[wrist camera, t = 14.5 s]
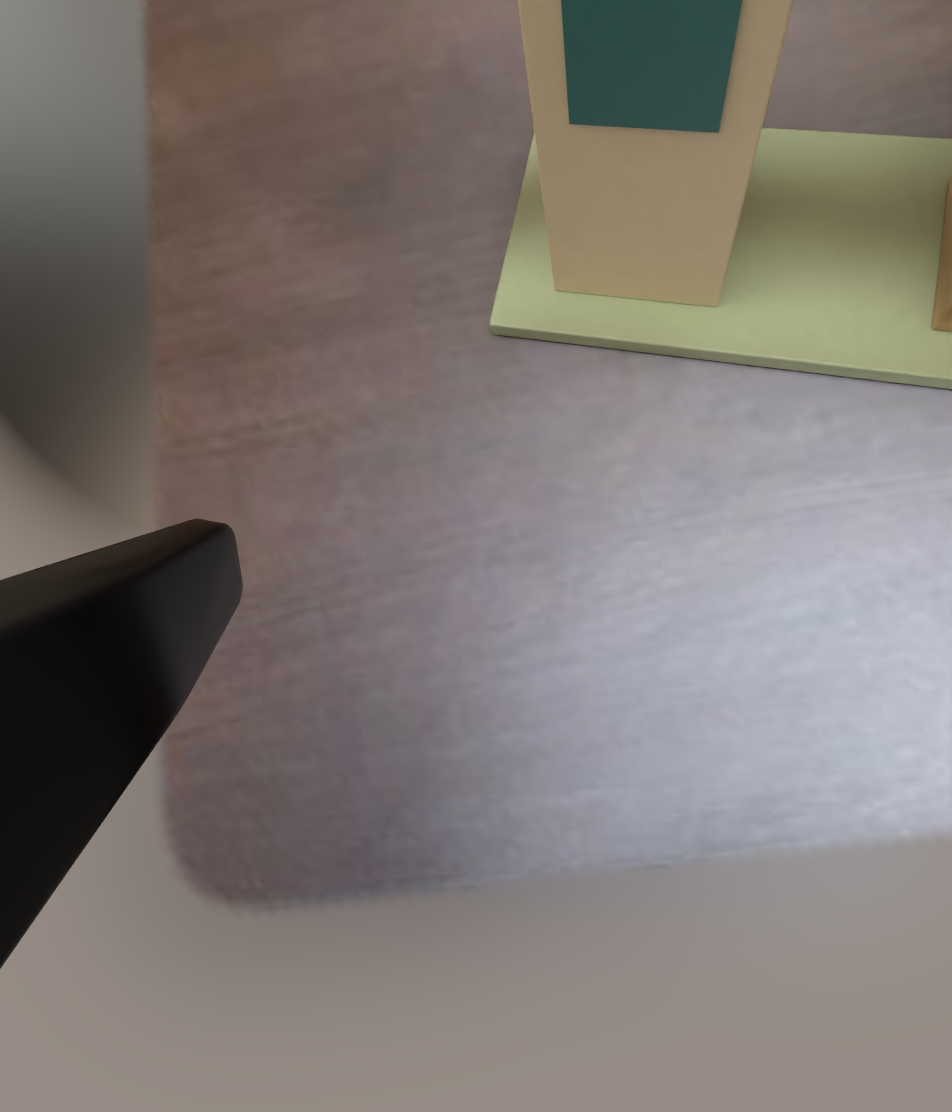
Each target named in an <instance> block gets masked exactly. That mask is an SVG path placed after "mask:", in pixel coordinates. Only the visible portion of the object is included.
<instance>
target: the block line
mask: <svg viewBox="0 0 952 1112" xmlns="http://www.w3.org/2000/svg"><path fill="white" fill-rule="evenodd" d="M489 325H490V329H491V332H492V334H496V335H505V336H513V337H521V338H530V339H538V340H546V341H554V342H563V343H571V344H579V345H588V346H596V347H604V348H613V349H621V350H629V351H637V352H646V353H654V354H662V355H671V356H679V357H687V358H696V359H704V360H712V361H721V362H729V363H737V364H745V365H754V366H762V367H770V368H779V369H787V370H795V371H804V372H812V373H820V374H829V375H837V376H845V377H853V378H862V379H870V380H878V381H887V382H895V383H903V384H912V385H920V386H928V387H936V388H945V389H952V139H946V138H929V137H912V136H895V135H878V134H861V133H844V132H827V131H810V130H793V129H777V128H762V130H761V134H760V138H759V142H758V146H757V150H756V154H755V158H754V162H753V166H752V170H751V174H750V178H749V182H748V187H747V191H746V195H745V199H744V203H743V207H742V211H741V215H740V219H739V223H738V227H737V231H736V235H735V239H734V243H733V247H732V251H731V255H730V259H729V263H728V267H727V271H726V275H725V279H724V283H723V287H722V291H721V295H720V299H719V303H718V306H717V307H709V306H700V305H690V304H681V303H671V302H661V301H652V300H642V299H633V298H623V297H614V296H604V295H595V294H585V293H575V292H566V291H556V290H554V284H553V276H552V268H551V260H550V252H549V244H548V236H547V228H546V220H545V212H544V204H543V196H542V188H541V180H540V172H539V164H538V156H537V148H536V140H535V132H534V135H533V140H532V144H531V148H530V152H529V157H528V161H527V165H526V169H525V174H524V178H523V182H522V186H521V191H520V195H519V199H518V203H517V208H516V212H515V216H514V220H513V225H512V229H511V233H510V237H509V242H508V246H507V250H506V254H505V259H504V263H503V267H502V271H501V276H500V280H499V284H498V288H497V293H496V297H495V301H494V305H493V310H492V314H491V318H490V322H489Z"/></svg>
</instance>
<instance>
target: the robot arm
mask: <svg viewBox="0 0 952 1112" xmlns="http://www.w3.org/2000/svg"><path fill="white" fill-rule="evenodd" d="M242 586H243V585H242V576H241V570H240V564H239V557H238V551H237V545H236V539H235V535H234V532H233V530H232V529H231V528H230V527H229V526H228V525H227V524H224V523H218V522H213V521H208V520H202V519H193V520H189V521H186V522H183V523H180V524H177V525H173V526H170V527H167V528H164V529H161V530H158V531H154V532H151V533H148V534H145V535H142V536H139V537H135V538H132V539H129V540H126V541H123V542H120V543H116V544H113V545H110V546H107V547H104V548H101V549H98V550H94V551H91V552H88V553H85V554H81V555H78V556H75V557H72V558H69V559H66V560H62V561H60V562H56V563H53V564H50V565H47V566H44V567H40V568H37V569H34V570H31V571H28V572H24V573H22V574H18V575H15V576H12V577H9V578H5V579H2V580H0V968H1V967H2V966H3V964H4V963H5V961H6V960H7V958H8V957H9V956H10V954H11V953H12V951H13V950H14V948H15V947H16V946H17V944H18V943H19V941H20V940H21V938H22V937H23V936H24V934H25V933H26V931H27V930H28V928H29V927H30V926H31V924H32V923H33V921H34V920H35V918H36V917H37V915H38V914H39V912H40V911H41V910H42V908H43V907H44V905H45V904H46V902H47V901H48V900H49V898H50V897H51V895H52V894H53V892H54V891H55V890H56V888H57V887H58V885H59V884H60V882H61V881H62V880H63V878H64V877H65V875H66V874H67V872H68V871H69V869H70V868H71V866H72V865H73V864H74V862H75V861H76V859H77V858H78V857H79V855H80V854H81V852H82V850H83V849H84V848H85V846H86V845H87V844H88V842H89V841H90V839H91V838H92V836H93V835H94V833H95V832H96V831H97V829H98V828H99V826H100V825H101V823H102V822H103V821H104V819H105V818H106V816H107V815H108V813H109V812H110V811H111V809H112V808H113V806H114V805H115V803H116V802H117V800H118V799H119V798H120V796H121V795H122V793H123V792H124V790H125V789H126V788H127V786H128V785H129V783H130V782H131V780H132V779H133V777H134V776H135V775H136V773H137V771H138V770H139V769H140V767H141V766H142V764H143V763H144V762H145V760H146V759H147V757H148V756H149V755H150V753H151V752H152V750H153V749H154V747H155V746H156V744H157V743H158V742H159V740H160V739H161V737H162V736H163V734H164V733H165V732H166V730H167V729H168V727H169V726H170V724H171V723H172V721H173V720H174V718H175V717H176V715H177V714H178V712H179V711H180V709H181V708H182V706H183V704H184V702H185V701H186V699H187V697H188V696H189V694H190V692H191V691H192V689H193V687H194V685H195V683H196V681H197V680H198V678H199V676H200V674H201V672H202V670H203V669H204V667H205V665H206V663H207V661H208V659H209V658H210V656H211V654H212V652H213V650H214V648H215V647H216V645H217V643H218V641H219V639H220V637H221V636H222V634H223V632H224V630H225V628H226V626H227V625H228V623H229V621H230V619H231V617H232V615H233V614H234V612H235V610H236V608H237V606H238V604H239V602H240V599H241V595H242Z"/></svg>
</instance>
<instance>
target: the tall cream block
mask: <svg viewBox="0 0 952 1112" xmlns="http://www.w3.org/2000/svg"><path fill="white" fill-rule="evenodd" d="M793 1H794V0H518V4H519V12H520V20H521V28H522V36H523V44H524V52H525V60H526V68H527V76H528V84H529V92H530V100H531V108H532V116H533V124H534V132H535V140H536V148H537V156H538V164H539V172H540V180H541V188H542V196H543V204H544V212H545V220H546V228H547V236H548V244H549V252H550V260H551V268H552V276H553V284H554V290H556V291H566V292H575V293H585V294H595V295H604V296H614V297H623V298H633V299H642V300H652V301H661V302H671V303H681V304H690V305H700V306H709V307H717V306H718V303H719V299H720V295H721V291H722V287H723V283H724V279H725V275H726V271H727V267H728V263H729V259H730V255H731V251H732V247H733V243H734V239H735V235H736V231H737V227H738V223H739V219H740V215H741V211H742V207H743V203H744V199H745V195H746V191H747V187H748V182H749V178H750V174H751V170H752V166H753V162H754V158H755V154H756V150H757V146H758V142H759V138H760V134H761V130H762V126H763V122H764V118H765V114H766V110H767V106H768V102H769V98H770V94H771V90H772V86H773V82H774V78H775V74H776V70H777V66H778V62H779V58H780V54H781V50H782V46H783V42H784V37H785V33H786V29H787V25H788V21H789V17H790V13H791V9H792V5H793Z"/></svg>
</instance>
